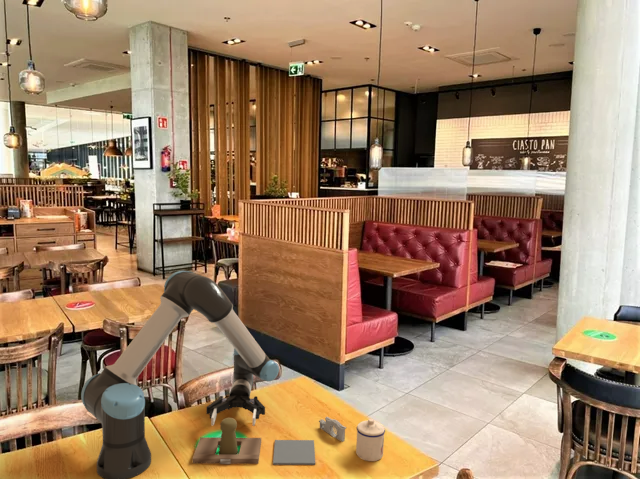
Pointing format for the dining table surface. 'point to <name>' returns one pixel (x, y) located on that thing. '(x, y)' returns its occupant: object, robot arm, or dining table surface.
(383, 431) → the teacup with lid
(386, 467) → the dining table surface
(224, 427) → the brown tall rounded piece
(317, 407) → the dining table surface
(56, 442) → the dining table surface
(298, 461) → the gray mat
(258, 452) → the walnut holder
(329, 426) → the garden wall model
